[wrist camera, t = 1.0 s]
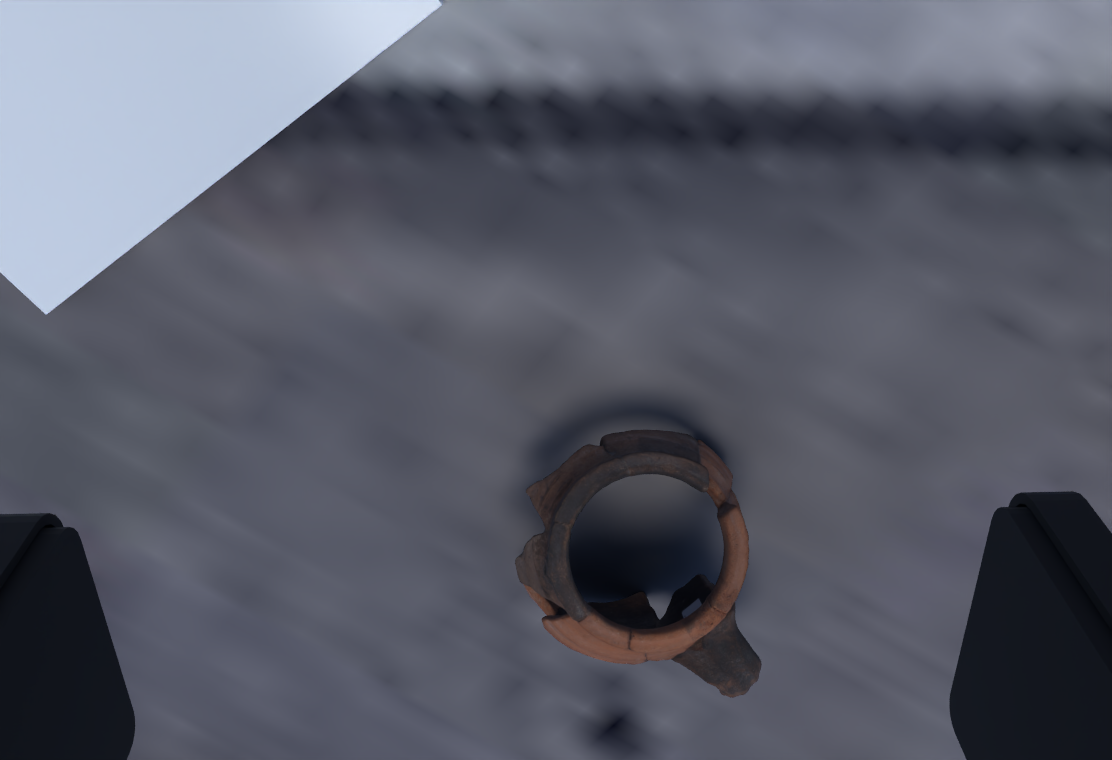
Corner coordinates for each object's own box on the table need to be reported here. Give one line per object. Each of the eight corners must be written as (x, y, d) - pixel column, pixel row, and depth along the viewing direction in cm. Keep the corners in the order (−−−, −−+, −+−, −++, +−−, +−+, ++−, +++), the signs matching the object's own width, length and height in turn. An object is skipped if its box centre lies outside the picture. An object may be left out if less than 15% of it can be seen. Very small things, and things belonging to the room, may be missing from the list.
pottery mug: (456, 538, 44) (467, 574, 36) (603, 371, 45) (647, 369, 37) (663, 720, 45) (720, 794, 37) (803, 553, 46) (888, 590, 38)
